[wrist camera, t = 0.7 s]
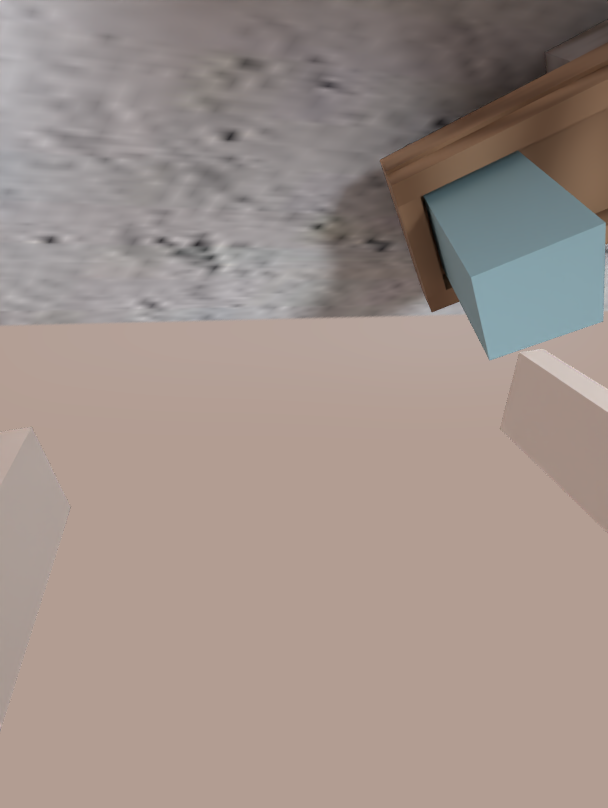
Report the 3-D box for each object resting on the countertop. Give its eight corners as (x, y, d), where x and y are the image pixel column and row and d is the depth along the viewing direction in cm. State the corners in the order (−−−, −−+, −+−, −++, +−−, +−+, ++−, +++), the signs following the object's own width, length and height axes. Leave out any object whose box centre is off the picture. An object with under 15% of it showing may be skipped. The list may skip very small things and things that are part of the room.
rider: (442, 268, 27) (489, 360, 21) (422, 194, 24) (470, 277, 18) (526, 233, 26) (603, 321, 19) (516, 149, 22) (605, 222, 16)
